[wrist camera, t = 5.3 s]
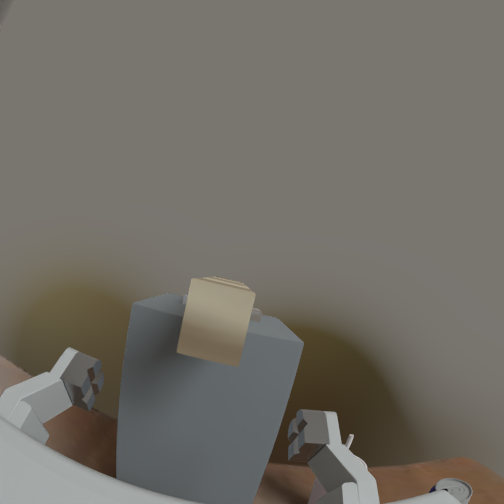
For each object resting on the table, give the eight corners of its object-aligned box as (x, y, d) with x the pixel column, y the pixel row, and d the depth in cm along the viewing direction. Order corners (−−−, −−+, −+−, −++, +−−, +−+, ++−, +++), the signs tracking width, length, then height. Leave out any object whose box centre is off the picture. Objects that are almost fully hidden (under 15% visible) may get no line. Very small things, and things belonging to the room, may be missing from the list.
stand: (230, 552, 16) (304, 343, 19) (118, 527, 16) (132, 303, 18) (229, 491, 28) (277, 317, 31) (142, 471, 28) (169, 292, 30)
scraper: (293, 376, 11) (311, 305, 11) (124, 336, 10) (137, 264, 11) (257, 317, 28) (264, 287, 28) (187, 301, 27) (193, 271, 28)
